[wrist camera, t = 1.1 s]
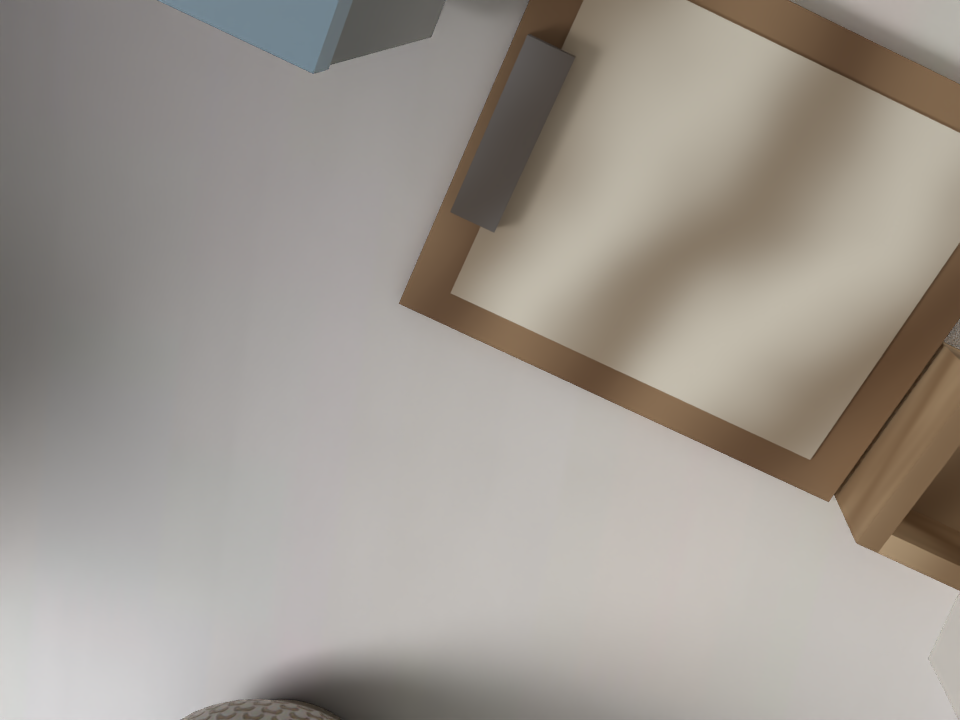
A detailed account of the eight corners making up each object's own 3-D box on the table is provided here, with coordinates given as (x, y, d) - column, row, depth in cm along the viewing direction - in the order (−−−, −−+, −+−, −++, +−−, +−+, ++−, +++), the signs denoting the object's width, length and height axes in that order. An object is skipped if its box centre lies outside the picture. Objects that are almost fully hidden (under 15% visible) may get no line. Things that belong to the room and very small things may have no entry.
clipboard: (402, 298, 33) (394, 310, 32) (575, -103, 28) (574, -107, 26) (824, 493, 34) (833, 513, 32) (1074, 141, 28) (1096, 148, 27)
